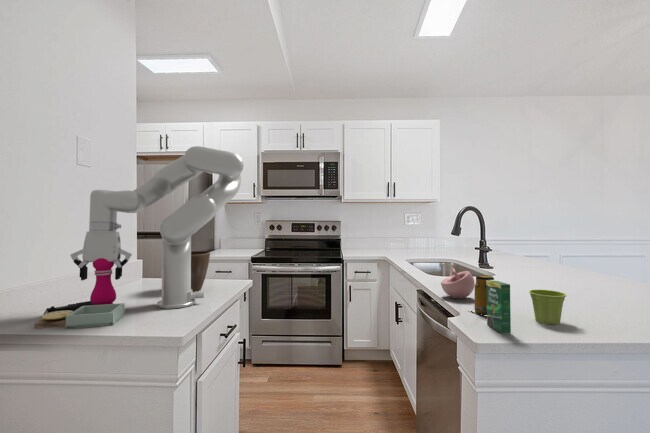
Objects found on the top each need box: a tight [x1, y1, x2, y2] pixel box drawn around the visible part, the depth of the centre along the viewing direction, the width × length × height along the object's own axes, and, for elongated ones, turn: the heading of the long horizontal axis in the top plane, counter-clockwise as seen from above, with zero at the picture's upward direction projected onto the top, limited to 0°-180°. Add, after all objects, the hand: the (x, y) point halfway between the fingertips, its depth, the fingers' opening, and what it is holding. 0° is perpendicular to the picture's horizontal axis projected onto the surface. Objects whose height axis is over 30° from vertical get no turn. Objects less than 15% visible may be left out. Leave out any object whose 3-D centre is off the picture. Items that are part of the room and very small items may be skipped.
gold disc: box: [41, 310, 73, 321], centre depth 98 cm, size 7×7×2 cm
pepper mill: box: [89, 258, 117, 305], centre depth 111 cm, size 7×7×20 cm
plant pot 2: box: [528, 289, 567, 325], centre depth 99 cm, size 9×9×9 cm
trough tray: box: [65, 302, 126, 330], centre depth 100 cm, size 12×12×4 cm
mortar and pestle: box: [440, 267, 476, 299], centre depth 129 cm, size 12×12×12 cm
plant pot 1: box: [191, 250, 211, 292], centre depth 142 cm, size 15×15×16 cm
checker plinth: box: [33, 318, 66, 329], centre depth 98 cm, size 8×8×1 cm
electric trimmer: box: [42, 300, 94, 315], centre depth 110 cm, size 4×16×3 cm, turn 142°
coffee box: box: [486, 279, 512, 335], centre depth 93 cm, size 8×3×13 cm, turn 1°
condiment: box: [468, 274, 495, 318], centre depth 108 cm, size 7×8×12 cm
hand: (101, 279), depth 111 cm, fingers open, 9 cm apart
